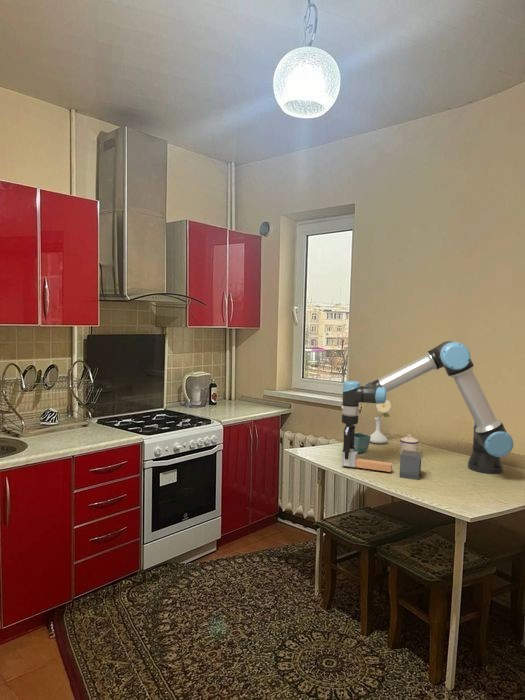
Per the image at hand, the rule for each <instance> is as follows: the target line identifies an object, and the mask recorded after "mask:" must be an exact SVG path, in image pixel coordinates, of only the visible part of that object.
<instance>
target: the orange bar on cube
mask: <svg viewBox="0 0 525 700" xmlns="http://www.w3.org/2000/svg"><path fill="white" fill-rule="evenodd" d="M341 455H342V456H341V457H342V458H341V466H343V467H345V466H344V452H342V454H341ZM358 455H359V454H358V452H355V451H350V466H348V467H350V468H361V469H368V470H374V471H382V472H389V473H391V472H392V470H393V463H392V462H386V461H378V460H373V459H372V460H371V459H365V458H358Z"/></svg>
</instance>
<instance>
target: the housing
mask: <svg viewBox="0 0 525 700" xmlns="http://www.w3.org/2000/svg"><path fill="white" fill-rule="evenodd" d="M422 454H423V453H422V451H418V452H416V451H408V450H403V451H402V453H401V456H400V455H399V457H400V458H399V461H400V462H399V478H401V479H408V480H415V481H419V480H420V475H421V473H422V472H421V469H422Z"/></svg>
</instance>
